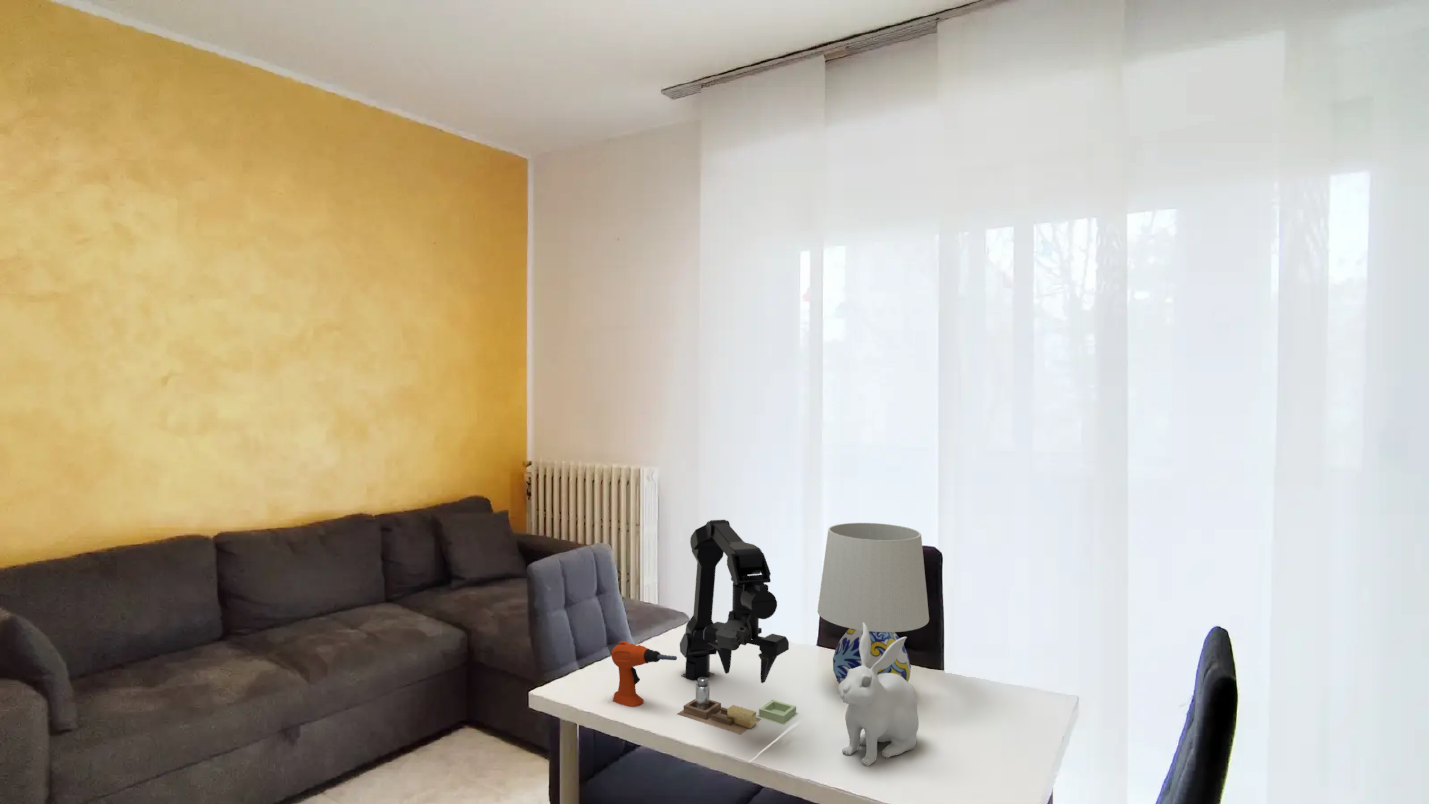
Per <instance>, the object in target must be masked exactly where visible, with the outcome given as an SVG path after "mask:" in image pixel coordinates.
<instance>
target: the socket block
mask: <svg viewBox="0 0 1429 804" xmlns="http://www.w3.org/2000/svg"><path fill="white" fill-rule="evenodd" d="M695 704H696V698H694V699H693V700H690V701H689V702H687V703H686V704H684V705H683V709H682V710H681V711H679V712H678V713H676V715H678V716H680V717H684V718H687V719H691V720H694V721H697V722H700V723H703V724H706V725H709V726H713V727H715V728H718V729H722V730H725V731H728V732H731V733H735V734H737V735H742V734H743V733H745V732H746V731H747V730H749V729H750V728H747V727H744V726H741V725H738V724H734V723H732V720H731V719H728V718H727V709H728V708H727V707H724V706H722V703H721V702H720V701H716V700H712V699H710V700H709V708H708V709H707V710H702V709H698V708H695ZM761 720H762V718H760V717H757V716H756V724H757V723H758V722H760V721H761Z"/></svg>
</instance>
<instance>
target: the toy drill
mask: <svg viewBox="0 0 1429 804" xmlns="http://www.w3.org/2000/svg"><path fill="white" fill-rule="evenodd" d="M610 653H611V659H612V662H613V663H614V665H615V666H616V667H618V674H619V677H618V678H619V683H618V688H617V689H618V690H617V691H615V692H614V693H613V694H614V695H613V698H612V702H614V703H616V704H619V705H621V706H624V707H630V708H636V707H640V706H642V705H643V704H644V702H645V700H644V699H643V697H641V696H639V694H637V691H636V685H637V684H638V683H639V681H641V678H640V677H639V676H638V673H637V670H636V669H635V667H637V666H638V667H639V666H642V665H646V664H649V663H658V662H659V661H660V660H661V661H662V660H666V661H676V660H677V659H678V657H677V656H676V655H666V654H663V653H662V654H661V653H660V652H659V651H658V650H653V649H650V648H647V647H646V646H645V645H641V644H638V645H636V644H634V643H629V642H627V641H625V640H622V641H619V642H618V644H617V645H615V646H614V647H613V648H612V650H611V652H610Z"/></svg>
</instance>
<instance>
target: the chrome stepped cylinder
mask: <svg viewBox="0 0 1429 804" xmlns="http://www.w3.org/2000/svg"><path fill="white" fill-rule="evenodd" d="M710 686H711V685H710V683H709V678H707V677H699V678H698V681H697V683H696V684H695V699H696V704H695V708H698V709H702V710H707V709H708V708H709V700H711V699H710V696H711V695H710V691H711V687H710Z"/></svg>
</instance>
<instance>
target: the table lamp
mask: <svg viewBox="0 0 1429 804" xmlns="http://www.w3.org/2000/svg"><path fill="white" fill-rule="evenodd" d="M923 552H924V551H923V540H922V533H921V532H920V531H919V530H917V529H915V528H910V527H906V526H902V525H897V524H890V523H888V524H886V523H879V522H878V523H877V522H876V523H875V522H847V523H846V522H845V523H837V524H835V525H831V526H829V527H828V529H827V536H826V545H825V552H824V560H823V565H822V566H823V567H822V574H821V583H820V590H819V591H820V592H819V596H818V603H817V604H818V605H817V614H818V615H819V616H820V617H821V618H822V619H823V620H824V621H827V622H828V623H831V624H834V625H835V626H840V627H843V628H848V629H847V631H846V632H845V634H843V635H842V637H841V638H840V640H839V641H838V643H837V646H836V648H835V650H834V654H833V657H832V671H833V673H834V676H835V677H836V681H837V682H838V685H839V684H840V683H841V682H842V681H843V680H845V679H846V677H847V673H848V671H849V669H853V668H856V667H858V666H861V665H862V661H861V656H860V652H859V644H860V639H861V637H862V634H863V625H862V624H863V622H864V623H865V625H866V626H867V628H868V632H869V635H870V639H871V650H870V659H869V661H868V662H867V663H866V664H865V665H866V667H867V668H869V669H870V668H872V666H873V665H874V664H875V663H876V662H877V661H879V659H880V658H881V657H882V655H883V654H884V652H885V651H886V649H887V648H888V647H889V646H890V645H891V644H892V643H893V642H895V641H896V640H898V639H900V637H899V636H898V634H897V633H901V632H909V631H914V630H919V629H921V628H923V627H925V626H926V625H928V623H929V621H930V615H929V606H928V605H929V604H928V592H927V581H926V574H925V573H926V572H925V571H926V570H925V563H924V561H925V560H924V553H923ZM911 669H912V665H911V661H910V657H909V654H908V652H907V650H906V648H905V645H903V647H902V648H901V650H900V652H899V654H898V656H897V658H896V660H895V661H894V663H892V664H891V665H890V666H889V667H887V668H886V669H880V670H878V672H877V675H879V674H882V673H894V674H897V675H900V676H901V677H902V678H904V679H905V680H906V681H907V682H908V683H909V681H910V679H911V672H912V671H911Z"/></svg>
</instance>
